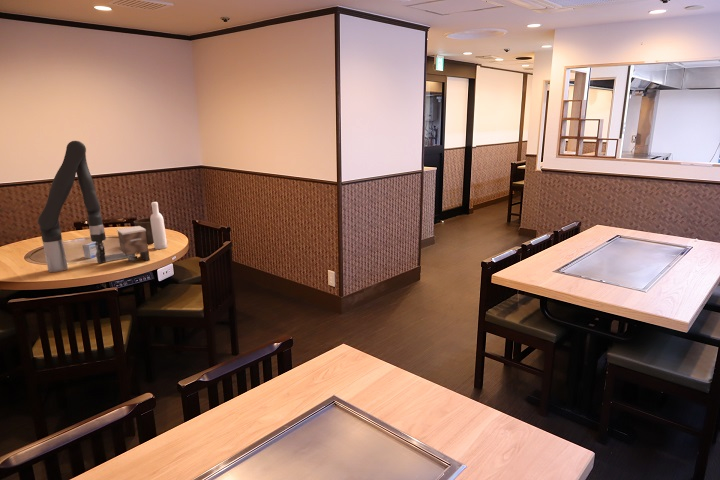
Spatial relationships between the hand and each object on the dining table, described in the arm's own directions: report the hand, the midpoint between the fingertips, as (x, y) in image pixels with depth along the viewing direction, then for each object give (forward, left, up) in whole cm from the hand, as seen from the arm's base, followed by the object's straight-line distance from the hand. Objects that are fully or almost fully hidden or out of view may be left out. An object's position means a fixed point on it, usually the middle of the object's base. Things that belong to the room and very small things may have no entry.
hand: (102, 260), depth 276 cm
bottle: (+36, +9, -1) cm, 37 cm away
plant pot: (+34, +28, -1) cm, 44 cm away
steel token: (+15, -8, -1) cm, 17 cm away
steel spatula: (+8, 0, -1) cm, 8 cm away
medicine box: (-2, +19, -1) cm, 19 cm away
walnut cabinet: (+16, -11, -1) cm, 19 cm away
